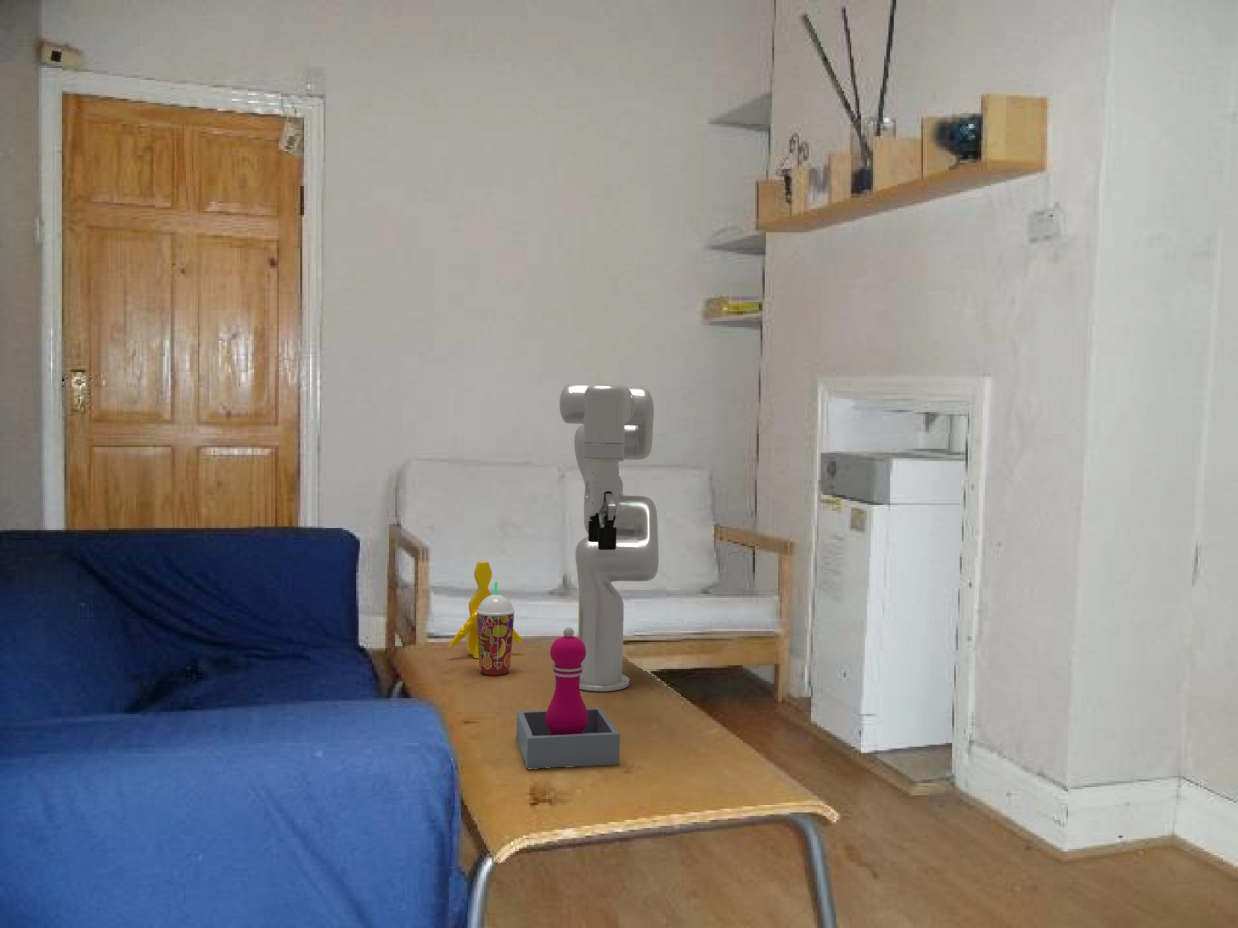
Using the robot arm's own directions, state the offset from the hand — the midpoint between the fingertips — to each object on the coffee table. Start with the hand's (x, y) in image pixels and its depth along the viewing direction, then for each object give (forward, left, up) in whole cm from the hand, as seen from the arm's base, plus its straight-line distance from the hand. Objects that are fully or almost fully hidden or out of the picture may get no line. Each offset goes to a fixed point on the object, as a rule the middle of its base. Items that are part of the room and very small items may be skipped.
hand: (601, 545), depth 180 cm
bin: (+16, -9, -33) cm, 37 cm away
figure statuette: (-54, -17, -33) cm, 66 cm away
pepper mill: (+15, -9, -32) cm, 36 cm away
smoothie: (-38, -16, -33) cm, 53 cm away
